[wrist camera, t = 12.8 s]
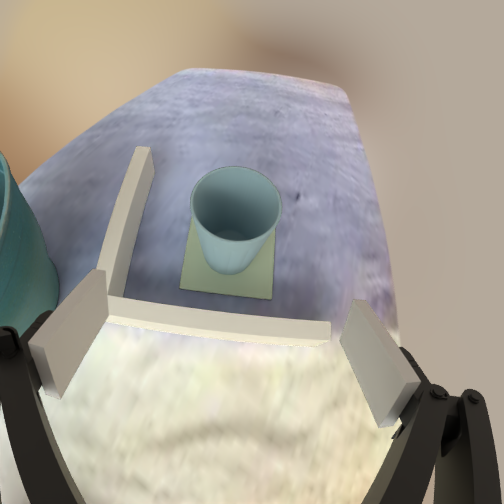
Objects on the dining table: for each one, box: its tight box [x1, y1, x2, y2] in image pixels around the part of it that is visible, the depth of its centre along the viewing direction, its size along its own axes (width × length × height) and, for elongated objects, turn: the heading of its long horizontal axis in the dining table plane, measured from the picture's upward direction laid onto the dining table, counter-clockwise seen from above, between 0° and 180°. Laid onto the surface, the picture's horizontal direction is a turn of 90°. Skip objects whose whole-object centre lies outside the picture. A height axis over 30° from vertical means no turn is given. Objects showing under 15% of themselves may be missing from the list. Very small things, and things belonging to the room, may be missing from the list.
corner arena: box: [96, 146, 331, 347], centre depth 33 cm, size 23×20×5 cm
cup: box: [190, 166, 282, 275], centre depth 30 cm, size 8×8×10 cm
